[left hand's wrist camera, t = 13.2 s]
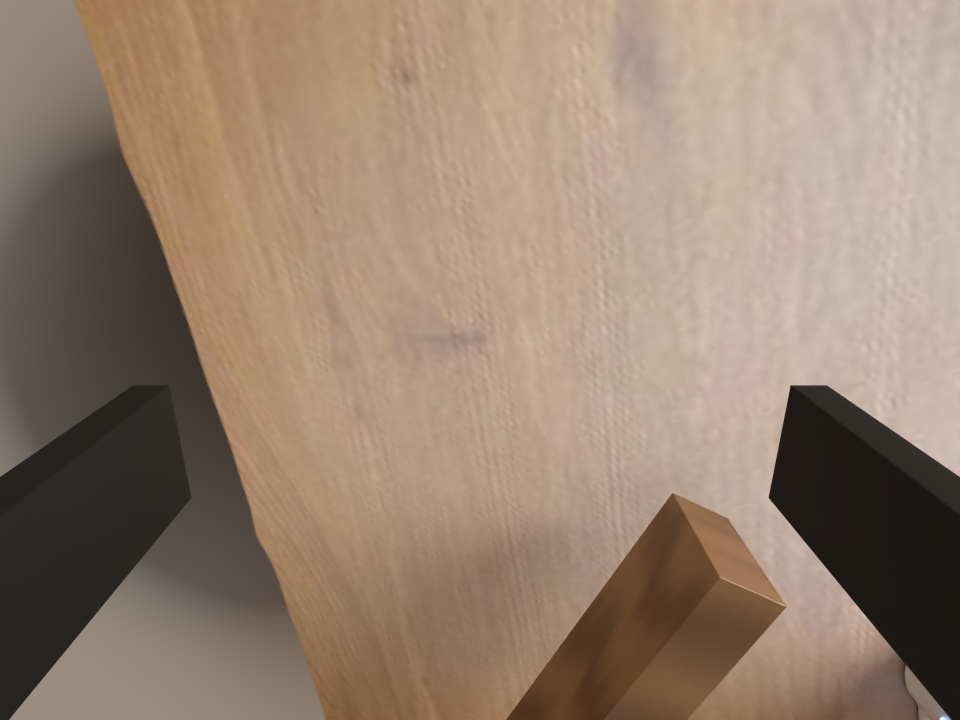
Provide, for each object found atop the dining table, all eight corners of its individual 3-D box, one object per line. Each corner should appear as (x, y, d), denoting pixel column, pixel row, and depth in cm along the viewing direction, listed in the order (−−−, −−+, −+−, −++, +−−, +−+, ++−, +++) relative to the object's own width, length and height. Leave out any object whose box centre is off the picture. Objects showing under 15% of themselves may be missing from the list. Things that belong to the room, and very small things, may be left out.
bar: (672, 492, 44) (719, 576, 36) (728, 518, 45) (787, 606, 37) (499, 728, 53) (503, 842, 44) (548, 746, 54) (562, 861, 45)
